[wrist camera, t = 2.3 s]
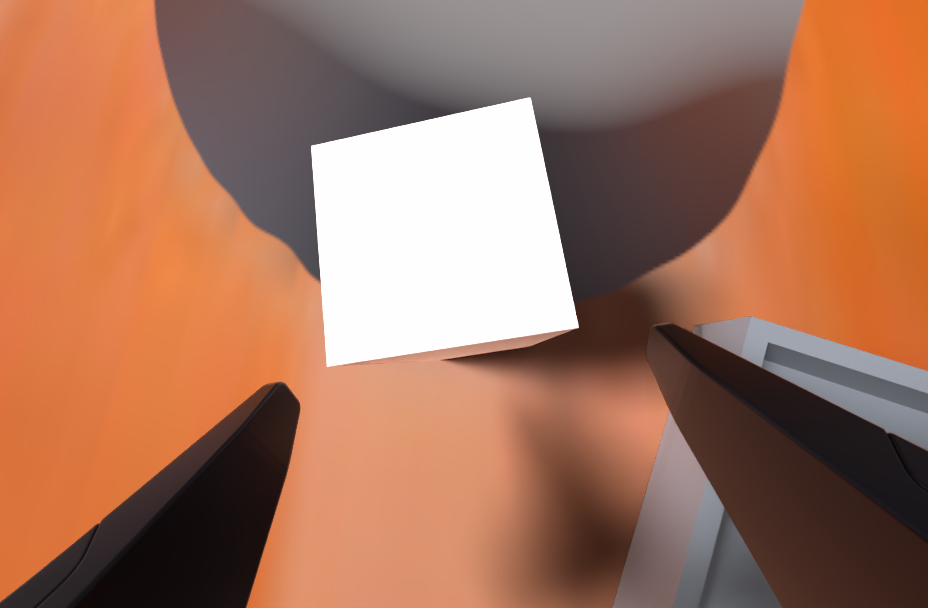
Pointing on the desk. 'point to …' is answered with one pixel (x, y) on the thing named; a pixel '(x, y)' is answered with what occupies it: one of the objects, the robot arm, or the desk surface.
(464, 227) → the cream block
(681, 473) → the tray
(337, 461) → the desk surface
